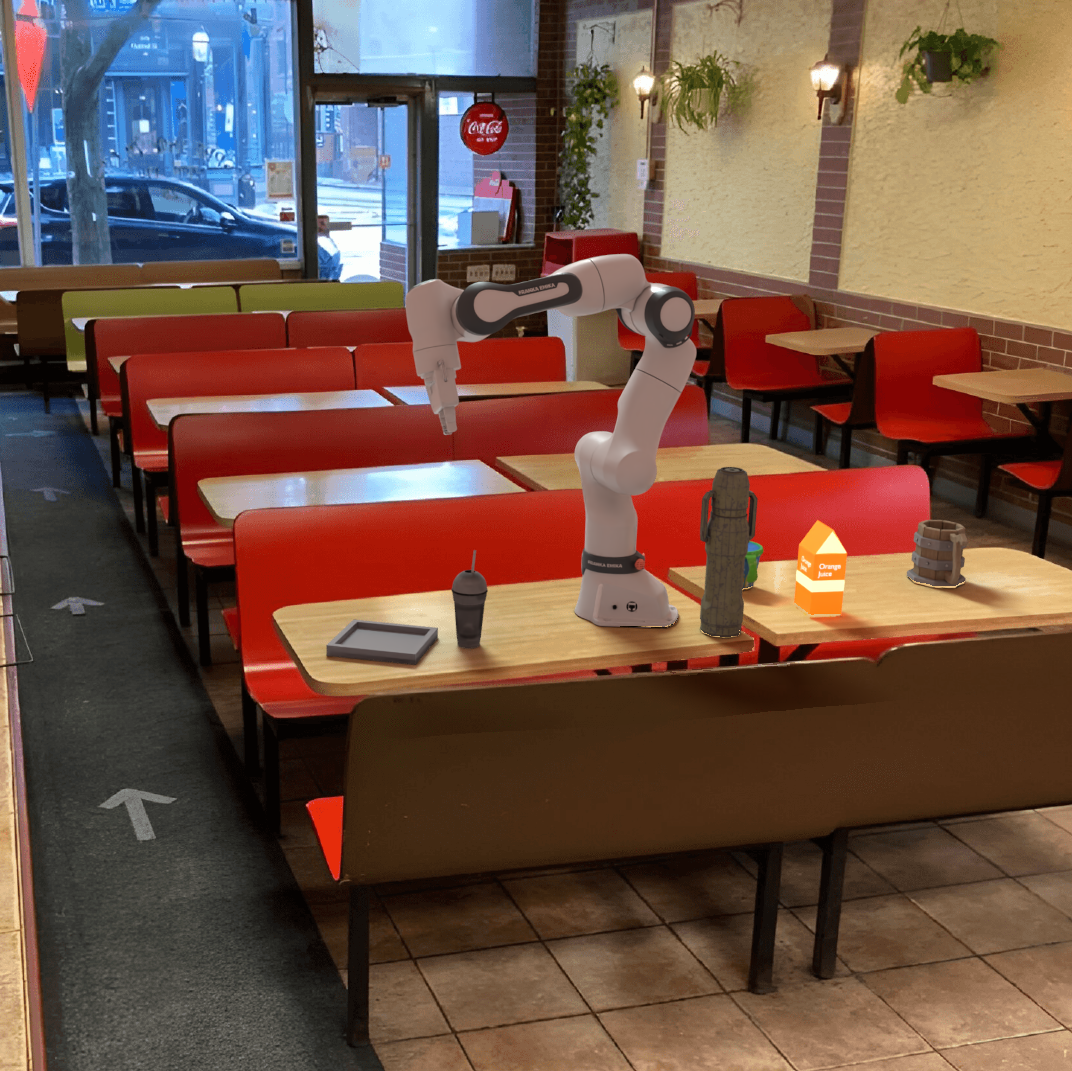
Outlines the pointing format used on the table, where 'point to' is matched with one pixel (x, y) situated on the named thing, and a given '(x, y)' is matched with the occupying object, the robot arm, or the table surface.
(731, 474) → the thermos
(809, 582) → the orange juice
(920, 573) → the tankard
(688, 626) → the table surface
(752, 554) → the snack cup
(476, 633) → the beverage cup
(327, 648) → the tray
